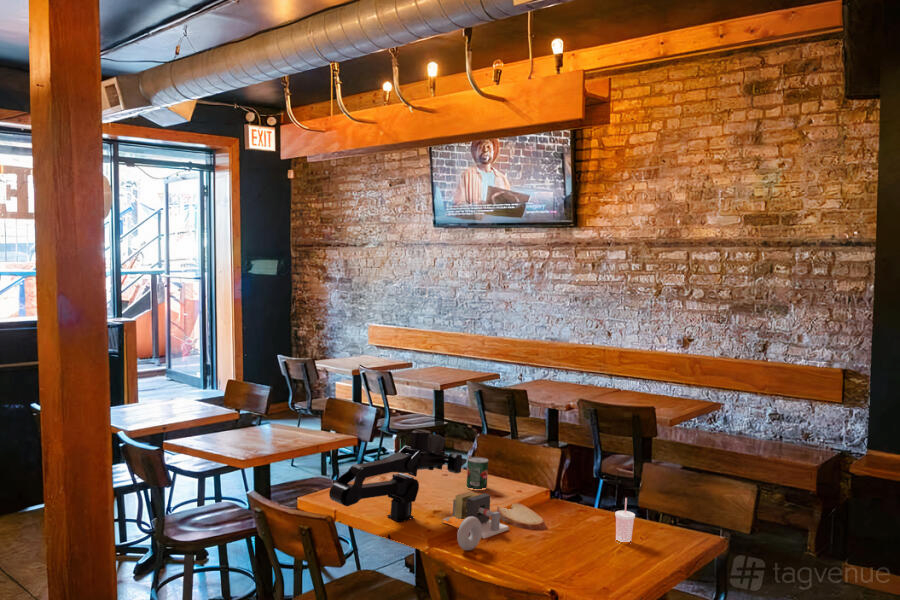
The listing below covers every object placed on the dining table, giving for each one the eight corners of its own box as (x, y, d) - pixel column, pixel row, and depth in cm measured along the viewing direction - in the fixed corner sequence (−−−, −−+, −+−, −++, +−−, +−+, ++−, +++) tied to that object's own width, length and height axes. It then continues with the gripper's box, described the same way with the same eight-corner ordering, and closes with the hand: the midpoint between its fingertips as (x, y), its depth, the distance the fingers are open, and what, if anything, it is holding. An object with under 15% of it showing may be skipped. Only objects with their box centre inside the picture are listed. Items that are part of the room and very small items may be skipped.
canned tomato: (464, 485, 291) (465, 456, 291) (484, 484, 293) (485, 456, 292) (468, 491, 283) (470, 462, 283) (489, 491, 285) (490, 462, 284)
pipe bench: (484, 538, 236) (485, 517, 236) (442, 522, 248) (443, 502, 248) (508, 529, 245) (509, 509, 244) (466, 514, 257) (467, 495, 257)
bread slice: (545, 532, 245) (545, 520, 245) (490, 525, 249) (490, 514, 249) (549, 514, 263) (550, 504, 263) (498, 508, 267) (498, 498, 266)
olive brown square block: (461, 519, 246) (462, 497, 246) (454, 517, 248) (455, 495, 248) (475, 514, 251) (477, 493, 251) (469, 512, 253) (470, 491, 253)
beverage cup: (619, 545, 236) (622, 501, 235) (610, 538, 241) (612, 495, 241) (637, 544, 237) (639, 500, 236) (627, 537, 243) (630, 494, 242)
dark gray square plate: (472, 526, 242) (473, 500, 241) (466, 524, 244) (467, 498, 243) (489, 520, 248) (490, 495, 248) (483, 518, 250) (484, 493, 249)
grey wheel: (474, 543, 231) (476, 511, 231) (483, 547, 229) (485, 514, 229) (453, 552, 224) (455, 519, 223) (463, 556, 221) (464, 522, 221)
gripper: (446, 441, 251) (478, 439, 262) (408, 432, 264) (440, 431, 275) (443, 475, 250) (475, 471, 261) (405, 464, 263) (438, 462, 274)
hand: (457, 458), depth 268 cm, fingers open, 9 cm apart
